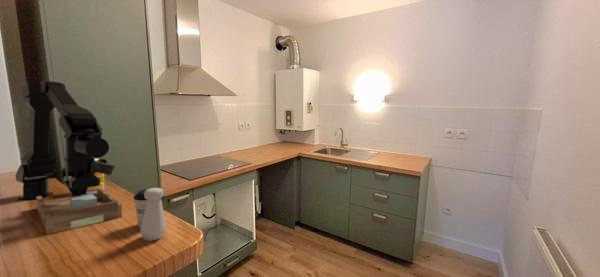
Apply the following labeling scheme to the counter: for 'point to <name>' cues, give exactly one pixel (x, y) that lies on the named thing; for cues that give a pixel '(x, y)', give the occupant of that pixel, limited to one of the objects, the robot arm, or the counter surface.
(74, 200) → the block
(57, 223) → the wooden tray
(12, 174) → the counter surface
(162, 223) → the salt shaker
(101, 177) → the supplement bottle
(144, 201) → the coffee cup
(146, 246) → the counter surface
